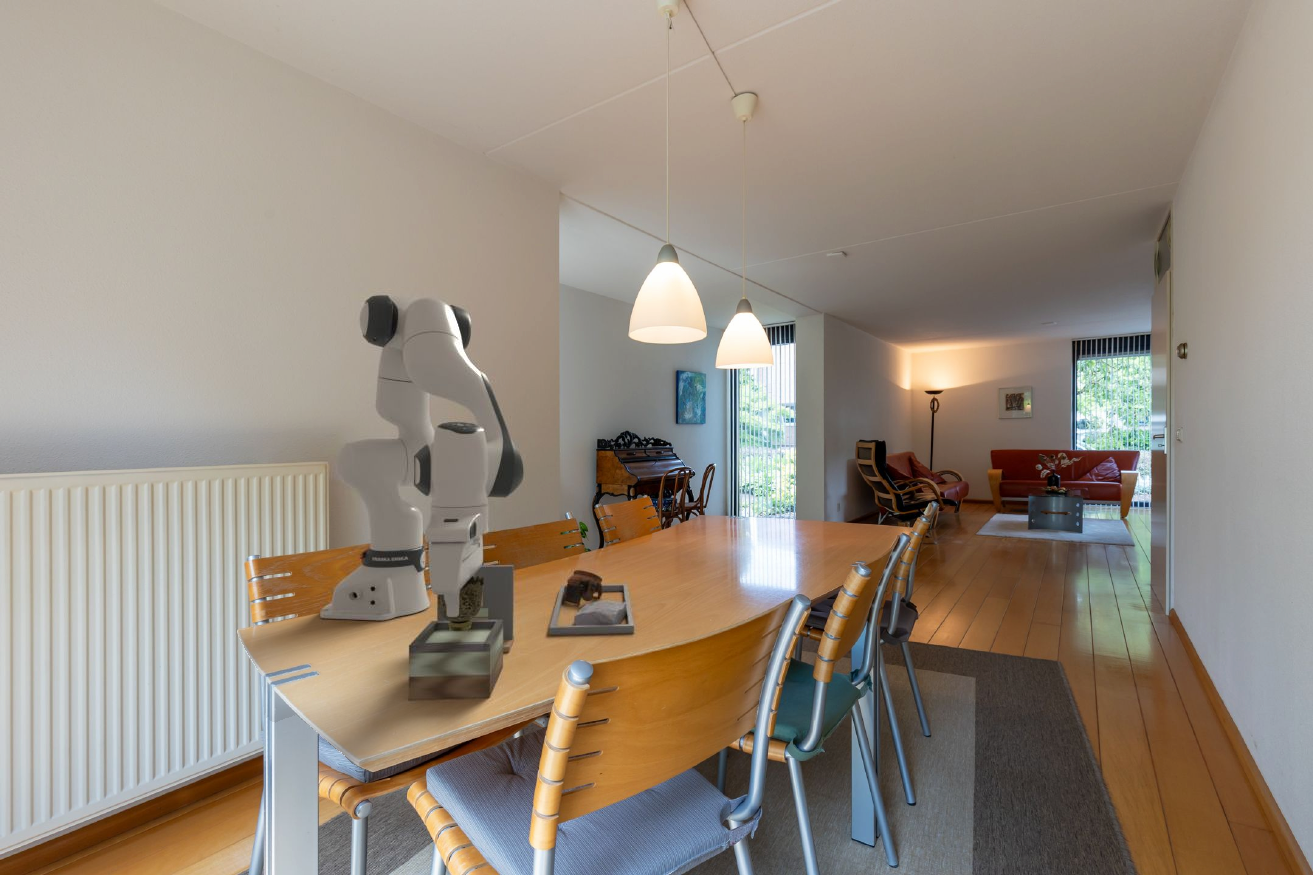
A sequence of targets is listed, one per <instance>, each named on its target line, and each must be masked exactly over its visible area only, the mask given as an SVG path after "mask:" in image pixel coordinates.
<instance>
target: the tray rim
mask: <svg viewBox="0 0 1313 875" xmlns="http://www.w3.org/2000/svg"><path fill="white" fill-rule="evenodd" d="M559 588H560V589H559V592H558V595H557V598H556V603H555V606H554V609H553V613H552V616H551V620H550V624H549V628H548V629H549V630H548V632H549V634H548V635H549V636H565V635H566V636H570V635H572V636H573V635H574V636H575V635H611V634H613V635H614V634H616V635H617V634H620V635H621V634H635V623H634V617H633V616H634V615H633V611H632V605H631V600H630V594H629V587H628V583H624V584H622V583H621V584H602V592H623V598H624V602H626V610H627V611H626V620H627V624H622V623H621V624H620V625H578V626H575V625H558V622H559V618H560V614H561V608H562V605H563V593H564V592H566V588H567V584H566V585H565V584H562V585H560V587H559Z"/></svg>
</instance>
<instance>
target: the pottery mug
mask: <svg viewBox="0 0 1313 875" xmlns="http://www.w3.org/2000/svg"><path fill="white" fill-rule="evenodd" d="M566 581H567V584H566V585H567V588H566V592H564V593H563V601H562V603H563V602H564V603H565V602H568V603H570V604H573V605H578V606H580V605H581V600H583V601H585V603H586V602H590V601H592V600H593V597H594V594H595V591H597V598H599V597H600V598H601V597H602V596H603V591H602V585H603V584H602V582H603V579H602V577H601V576H599V575H598V574H596V573H594V572H590V571H586V570H581V569H577V570H574V571H573V574H572V575H571V576H570V577H569V578H568V579H567V580H566Z"/></svg>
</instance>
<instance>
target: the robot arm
mask: <svg viewBox="0 0 1313 875" xmlns="http://www.w3.org/2000/svg"><path fill="white" fill-rule="evenodd" d="M359 326H360V330H361V332H362V337H363V338H364V339H365V341H366V342H367V343H368V344H371V345H373V346H376V347H380V348H382V349H381V353H380V358H379V364H378V370H377V371H378V372H377V379H376V380H377V381H376V383H377V384H376V393H375V394H376V395H375V406H374V407H375V410H376V412H377V414H378V415H379V416H380V417H381V418H382V419H383V420H384V421H386V422H388V423H390V424H392V425H394V426H396V427H397V429H398V437H397V438H367V439H360V440H359V439H358V440H355V441H354V440H353V441H350V442H346V443H344V444H343V446H341V448H340V449H339V450H338V452H337V454H336V455H335V456H336V457H335V462H334V468H335V469H334V470H335V473H336V475H337V477H338V478H339V480H340V481H341V482H342V483H343V484H344V485H345V486H347V487H348V488H350V489H351V490H352V491H354V492H355V493H356V494H357V495H358V496H359V497H360V499H361V501H362V502H363V503H364V505H365V508H366V510H367V514H368V520H369V532H370V533H369V534H370V535H369V536H370V546H369V547H366V549H365V550H364V551H362V552H361V553H359V557H358V558H359V559H358V560H361V565H360V566H359V567H357V568H356V569H354V570H353V571H352V572H351V573H349V574H348V575H347V576H346V577H345V578H343V579H342V580H340V582H338V584H337V585H336V586H335V588H334V590H333V593H332V600H331V602H330V603H329V604H327V605H325V606H324V607H323V608H321V610H320V614H319V617H320V618H321V619H333V620H335V619H336V620H358V621H359V620H362V621H388V620H391V619H394V618H397V617H401V616H406V615H412V614H415V613H419V612H421V611H424V610H426V609H428V608H429V607H430V606H431V603H430V600H429V596H428V593H427V587H426V582H425V575H424V574H425V572H424V570H425V567H426V551H425V550H426V549H425V545H424V544H423V543H424V540H425V542H426V543H430V544H429V547H428V570H429V571H428V572H429V581H430V588H431V591H432V593H433V594H434V595H444V599H445V603H446V606H447V616H448V617H457V616H458V615H459V613H460V612H461V609H460V608H461V603H459V594H460V589H461V588H462V587H463V586H464V585H465V584H466V583H467V581H468V580H469V579H470V578H471V577H472V576H474V574H475V573H476V572H477V571H478V570H479V569H480V567H481V566H483V561H484V548H483V547H484V543H483V535H486V534H487V533H489V498H502V499H503V498H504V499H505V498H507V497H509V496H510V495H511V494H512V493H515V490H516V489H518V488H519V486H520V485H521V484H522V482H523V480H524V464H523V459H522V456H521V453H520V451H519V449H518V448H517V446H516V445H515V442H514V441H513V439H512V437H511V434H510V432H509V429H508V425H507V424H506V420H505V419H504V416H503V413H502V411H501V408H500V405H499V403H498V400H497V397H496V395H495V392H494V390H493V387H492V386H491V384H490V381H489V379H488V376H487V375H486V374H485V373H484V372H482V371H481V370H479V369H478V368H476V366H475V365H474V364H473V363H472V362H471V360H470V359H469V357H468V356H467V354H466V352H465V350H466V349H467V348H468V346H469V343H470V341H471V338H472V334H473V333H472V332H473V331H472V330H473V329H472V328H473V326H472V320H471V317H470V315H469V313H468V312H467V310H465V309H463V308H461V307H458V306H456V305H453V304H451V305H449V304H447V303H446V302H444V301H443V300H440V299H439V298H435V297H422V298H419V299H417V298H412V297H411V298H409V297H396V296H393V297H392V296H389V295H386V294H381V295H379V294H377V295H372V296H370V297H369V298H367V299H366V300H365V302H364V304H363V306H362V308H361V310H360V314H359ZM430 395H431V396H436V397H438V398H442V399H445V400H448V401H451V402H454V403H456V404H458V405H461V406H462V407H464V408H465V409H467V410H469V412H471V413H472V414H473V416H474V418H475V420H476V423H470V422H469V423H468V422H465V421H464V422H463V421H462V422H461V421H451V422H449V421H448V422H443V423H440V424H439V425H436V427H435V429H434V426H433V424H432V422H431V418H430V417H431V416H430ZM412 486H414V488H416V489H417V490H418V491H419V492H420V493H421V494H423V496H425V497H431V498H432V499H431V504H430V519H429V522H428V524H427V526H426V528H425V531H424V526H423V524H424V523H423V522H424V519H423V518H424V517H423V513H422V512H421V510H420V508H418V507H417V506H416V505H414V504H413V503H410V502H408V501H406V500H403V499H402V498H401V496H400V493H399V487H412ZM423 537H424V539H423Z"/></svg>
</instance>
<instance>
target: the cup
mask: <svg viewBox="0 0 1313 875" xmlns="http://www.w3.org/2000/svg"><path fill="white" fill-rule="evenodd" d="M483 587H484V577H482V578H481V579H480V578H479V576H477V577H476V579H475V578H474V576H472V577H471V578H470V579H469V580H468V581H467V583H466V584H465V585H464V586H463V587H462V588H461V589H460V594H459V603H461V608H460V609H461V612H460V613H459V615H458V616H457V617H448V616H447V606H446V603H445V599H444V595H437V594H436V595H437V596H438V604H439V609H440V613H441V615H442V616H443V617H444V618H445V619H446V620H448V621H449V624H448V626H449V629H450V630H452V631H465V630H468V629H469V628H470V627H471V626H472V620H471V619H472V618H474V617H475V616H476V615H477V614H478V612H479V610H480V607H481V602H482V595H483ZM437 596H436V597H437Z"/></svg>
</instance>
